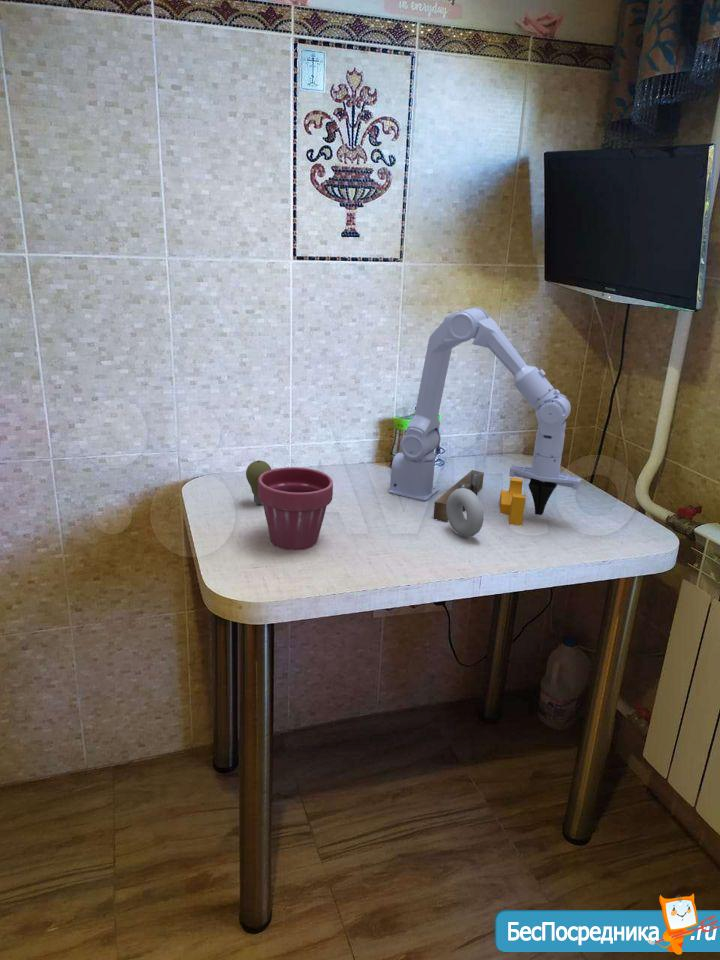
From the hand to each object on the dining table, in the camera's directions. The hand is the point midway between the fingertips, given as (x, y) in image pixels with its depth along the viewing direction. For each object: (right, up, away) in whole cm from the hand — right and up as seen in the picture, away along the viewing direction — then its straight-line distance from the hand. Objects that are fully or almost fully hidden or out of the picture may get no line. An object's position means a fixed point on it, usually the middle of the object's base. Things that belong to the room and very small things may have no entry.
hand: (539, 513), depth 153 cm
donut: (-18, -4, -8) cm, 20 cm away
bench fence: (-16, +2, +8) cm, 18 cm away
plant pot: (-51, -5, -14) cm, 53 cm away
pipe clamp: (-6, -1, +4) cm, 7 cm away
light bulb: (-60, +2, +2) cm, 60 cm away
